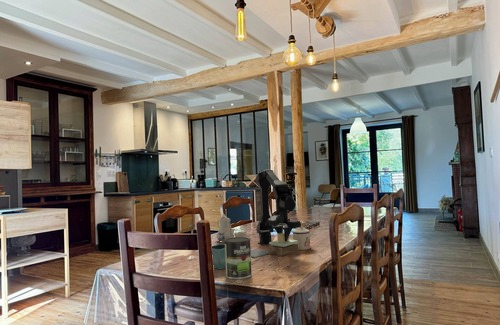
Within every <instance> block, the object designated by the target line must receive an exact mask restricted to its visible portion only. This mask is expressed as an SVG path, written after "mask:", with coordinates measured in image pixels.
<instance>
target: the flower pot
mask: <svg viewBox="0 0 500 325" xmlns="http://www.w3.org/2000/svg"><path fill="white" fill-rule="evenodd" d="M211 246H212V255H213V265H214V269H218V270H222V269H226V260H225V243H224V244H223V243H220V244H214V245H211Z"/></svg>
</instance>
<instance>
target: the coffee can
mask: <svg viewBox="0 0 500 325" xmlns="http://www.w3.org/2000/svg"><path fill="white" fill-rule="evenodd" d="M223 243H224V244H225V260H226V268H225V277H226V278H227V279H230V280H243V279H248V278H250V277H251V276H252V275H253V274H252V257H251V250H252V249H251V238H249V237H235V236H234V237H233V238H228V239H225V240H224V242H223Z"/></svg>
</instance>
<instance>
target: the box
mask: <svg viewBox="0 0 500 325" xmlns="http://www.w3.org/2000/svg"><path fill="white" fill-rule="evenodd" d="M268 247H269V251H270V254H269V255H272V256H278V257H281V258H282V257H283V258H285V257H288V256H291V255H294V254H297V253H299V250H298V244H293V245H289V246H286V247H279V246H273V245H269V246H268Z"/></svg>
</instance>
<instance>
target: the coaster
mask: <svg viewBox="0 0 500 325" xmlns="http://www.w3.org/2000/svg"><path fill="white" fill-rule="evenodd" d="M268 255H271V254H270V250H265V249H257V248H253V249H251V259H252V258H253V259H257V258H261V257H264V256H268Z"/></svg>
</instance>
